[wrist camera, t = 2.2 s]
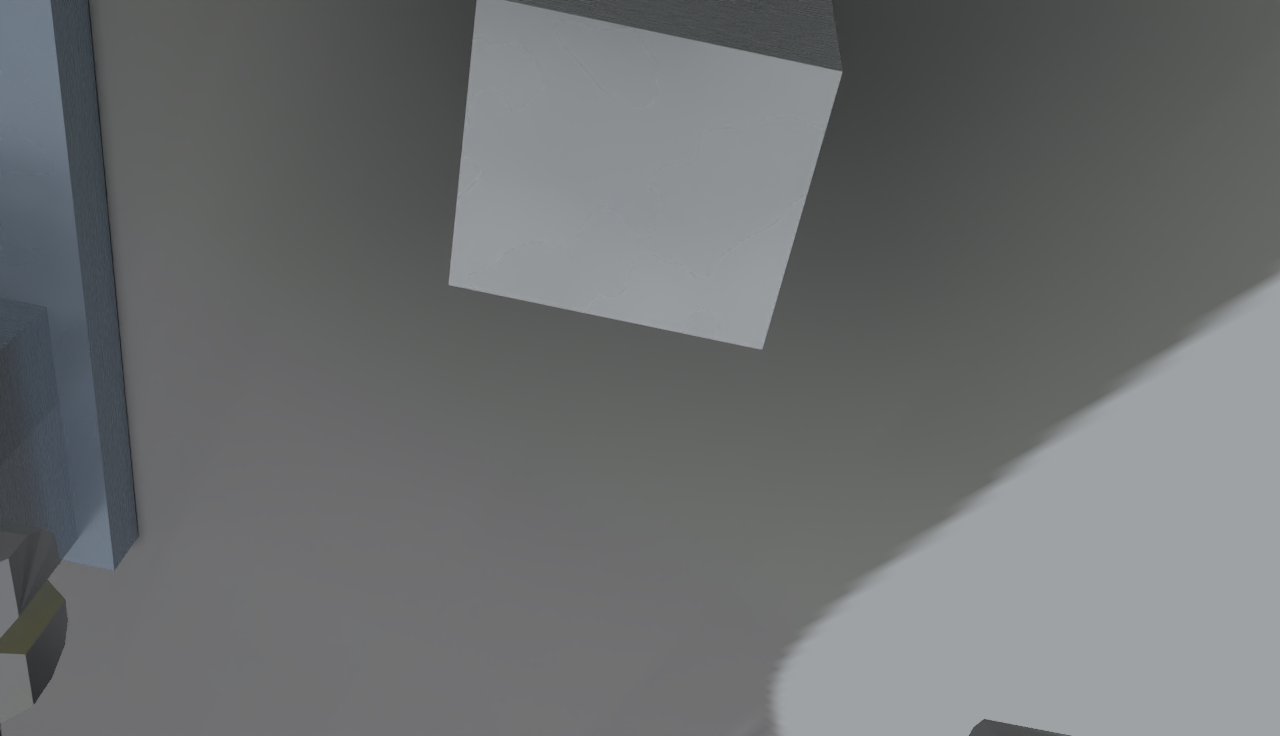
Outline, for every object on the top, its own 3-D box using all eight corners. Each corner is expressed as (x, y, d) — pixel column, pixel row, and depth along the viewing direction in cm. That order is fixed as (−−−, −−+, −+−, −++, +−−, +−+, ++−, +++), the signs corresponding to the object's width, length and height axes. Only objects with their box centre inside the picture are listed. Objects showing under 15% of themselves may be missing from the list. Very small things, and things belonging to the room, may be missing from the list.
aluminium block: (561, -112, 23) (477, -6, 17) (822, -56, 23) (843, 71, 17) (531, 116, 26) (448, 285, 19) (764, 165, 26) (762, 350, 20)
